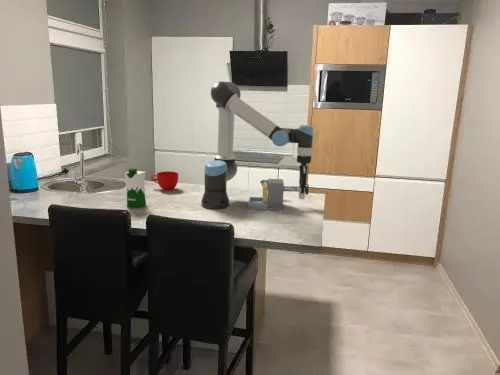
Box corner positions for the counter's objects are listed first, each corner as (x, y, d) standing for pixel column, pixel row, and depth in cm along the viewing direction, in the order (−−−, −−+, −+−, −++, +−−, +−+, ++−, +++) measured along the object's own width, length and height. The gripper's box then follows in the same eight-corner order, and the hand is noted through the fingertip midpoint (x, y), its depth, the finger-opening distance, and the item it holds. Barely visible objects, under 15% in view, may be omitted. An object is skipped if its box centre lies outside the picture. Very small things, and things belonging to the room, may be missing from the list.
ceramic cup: (155, 186, 254) (155, 170, 251) (181, 187, 252) (181, 172, 249) (147, 190, 241) (147, 174, 239) (174, 192, 239) (174, 176, 237)
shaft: (268, 194, 212) (268, 184, 211) (268, 191, 218) (268, 181, 216) (308, 195, 212) (308, 185, 210) (307, 193, 217) (307, 183, 216)
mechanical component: (277, 198, 232) (277, 181, 229) (259, 197, 234) (260, 180, 231) (277, 197, 235) (278, 180, 232) (260, 196, 237) (261, 179, 234)
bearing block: (267, 209, 210) (268, 183, 207) (267, 202, 224) (268, 178, 220) (282, 210, 210) (283, 184, 206) (281, 202, 223) (282, 178, 220)
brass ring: (262, 203, 212) (262, 187, 210) (262, 199, 221) (262, 183, 218) (267, 203, 212) (267, 187, 210) (267, 199, 221) (267, 183, 218)
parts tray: (248, 208, 211) (248, 203, 210) (249, 202, 223) (249, 196, 223) (267, 209, 210) (267, 203, 210) (267, 202, 223) (267, 197, 222)
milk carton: (124, 206, 208) (122, 169, 203) (134, 202, 216) (133, 166, 212) (138, 208, 205) (137, 170, 200) (148, 204, 214) (147, 167, 209)
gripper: (313, 157, 202) (310, 202, 207) (309, 153, 217) (306, 194, 223) (298, 157, 202) (295, 202, 208) (295, 152, 217) (293, 194, 223)
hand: (301, 198), depth 215 cm, fingers closed on shaft, 3 cm apart
